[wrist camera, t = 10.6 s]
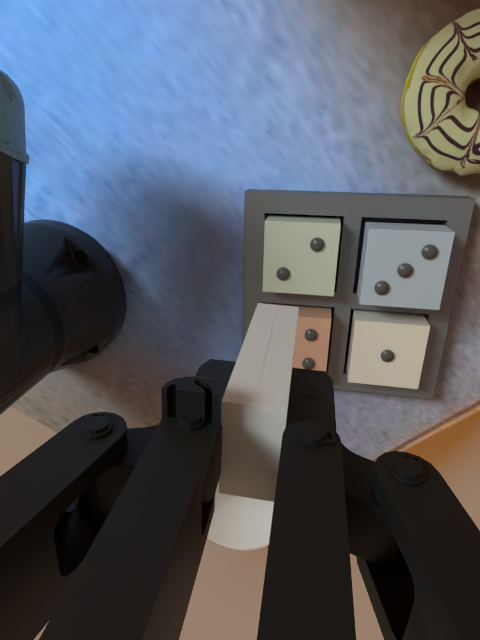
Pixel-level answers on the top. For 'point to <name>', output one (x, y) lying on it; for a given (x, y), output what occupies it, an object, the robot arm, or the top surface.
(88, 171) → the top surface
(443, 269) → the tile
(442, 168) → the decorated donut
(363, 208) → the keypad board
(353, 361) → the tile
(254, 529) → the mug
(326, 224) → the tile
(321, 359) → the tile
